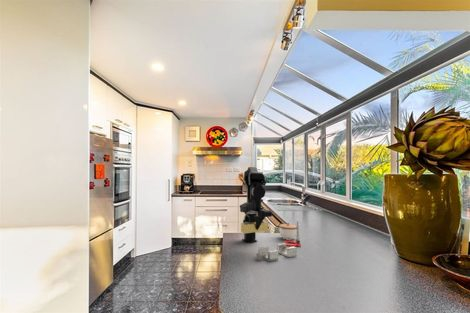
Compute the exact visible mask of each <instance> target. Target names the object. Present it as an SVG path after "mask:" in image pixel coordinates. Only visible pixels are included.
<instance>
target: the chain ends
mask: <svg viewBox="0 0 470 313" xmlns="http://www.w3.org/2000/svg"><path fill="white" fill-rule="evenodd" d="M286 244H287V243H283V242H282V243H276V249H273V250H269V248H270V247H269V246H268V245H265V246H259V247H258V250H257V253H256V260H258V261H259V262H263V261H267V262H269V263H270V262H276V261H279V255H282V256H285V257H286V258H292V257H297V251H298V250H297V246H292V247H291V246H286Z"/></svg>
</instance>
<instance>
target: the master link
mask: <svg viewBox="0 0 470 313" xmlns="http://www.w3.org/2000/svg"><path fill="white" fill-rule="evenodd" d="M268 228H269V222H268V221H265V220H263V221H262V223H261V225H260V227H259V229H258V230H256V222H251V223H249V222H245V223H243V222H242V223H241V224H240V232H241V233H243V234H244V233H253V232H255V233H258V232H259V233H261V232H268Z"/></svg>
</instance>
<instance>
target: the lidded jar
mask: <svg viewBox="0 0 470 313" xmlns="http://www.w3.org/2000/svg"><path fill="white" fill-rule="evenodd" d="M278 227H279V229H278V230H279V231H278V232H279V234H280V236H281V238H282V239H283V240H285V239H286V240H285V241H293V240H294V238H295V237H296V236H297V225H295V224H290V223H289V222H287V223H282V224H279V225H278Z"/></svg>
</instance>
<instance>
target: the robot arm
mask: <svg viewBox="0 0 470 313" xmlns="http://www.w3.org/2000/svg"><path fill="white" fill-rule="evenodd" d="M266 180H267V179H266V176H265V174H264V173H263V171H258V168H257V167H254V166H253V167H252V166H249V167H248V168H247V170H245V171H244V172H243V182H244V186H245V187H246V202H244V203H242V204H240V205H239V209H240V210H239V211H240V212H241V213H244V217H243V220H242V223H245V222H249V223H251V222H256V230H258V229H259V227H260V225H261V223H262V221H265V219H266V218H268V217H272V216H273V212H272V210H269V209H264V207H262V202H264V199H263V198H264V197H265V196H266V189H265V188H264V187H265V186H266V185H267V181H266ZM243 236H244V237H243V238H242V239H241V241H244V242H245V243H247V244H248V243H249V244H251V243H257V242H258V240H257V239H256V237H257V236H256V232H253V233H243ZM256 241H257V242H256Z"/></svg>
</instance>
